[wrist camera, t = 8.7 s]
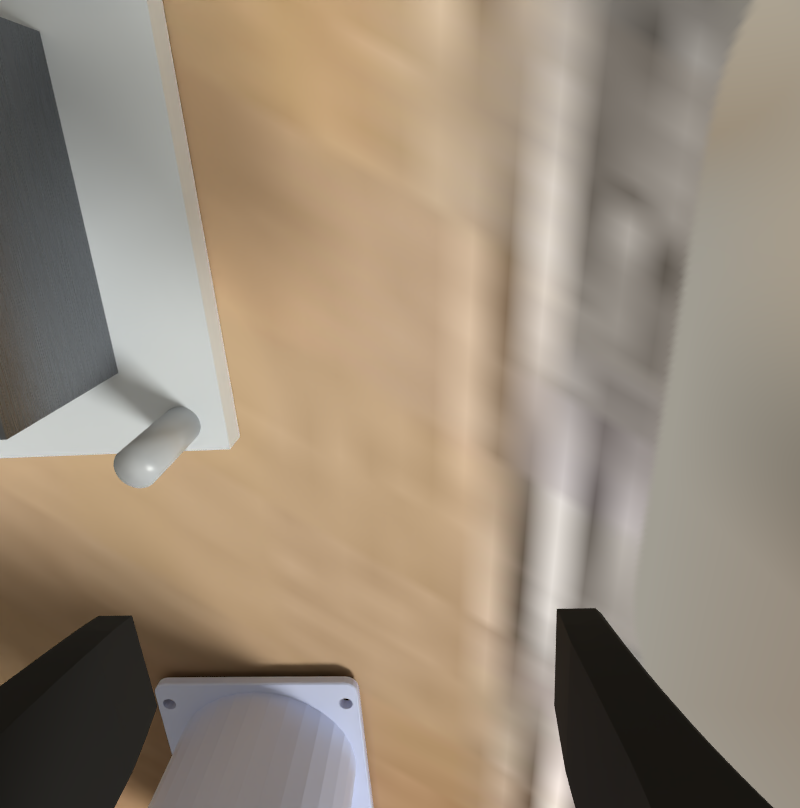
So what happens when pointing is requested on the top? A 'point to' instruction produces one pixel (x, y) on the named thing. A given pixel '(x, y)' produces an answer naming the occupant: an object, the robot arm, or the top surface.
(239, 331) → the top surface
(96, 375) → the block
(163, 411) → the tray
